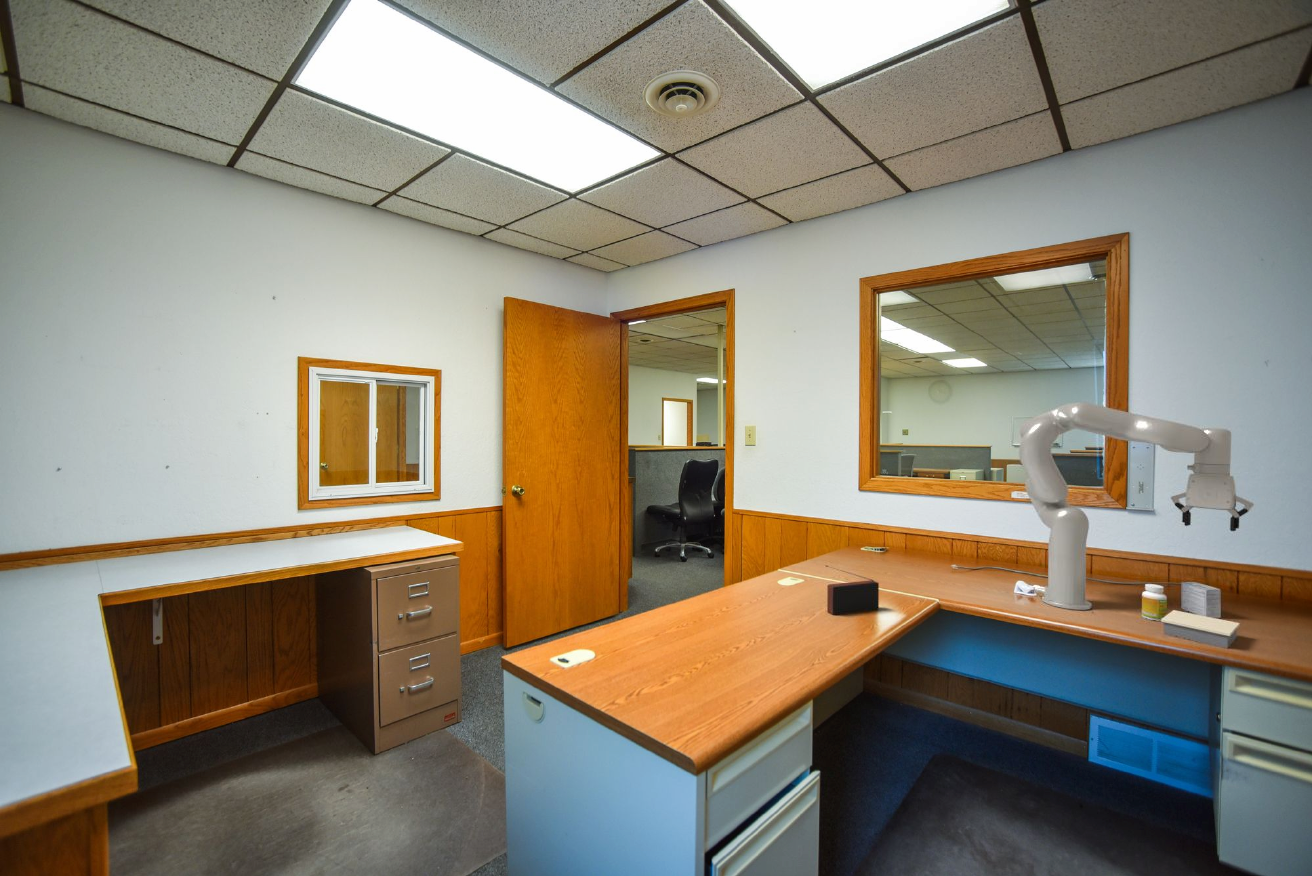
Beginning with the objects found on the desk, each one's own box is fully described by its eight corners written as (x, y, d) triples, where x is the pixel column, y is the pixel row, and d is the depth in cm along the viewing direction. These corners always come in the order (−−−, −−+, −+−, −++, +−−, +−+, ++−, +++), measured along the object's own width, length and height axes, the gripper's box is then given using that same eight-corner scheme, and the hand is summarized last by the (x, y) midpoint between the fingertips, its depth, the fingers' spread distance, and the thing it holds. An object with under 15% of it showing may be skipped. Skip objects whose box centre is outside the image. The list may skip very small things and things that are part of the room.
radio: (871, 606, 171) (872, 559, 171) (878, 610, 168) (878, 561, 168) (820, 612, 165) (821, 563, 165) (826, 616, 162) (827, 566, 162)
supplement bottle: (1161, 623, 157) (1161, 589, 156) (1138, 617, 161) (1138, 584, 161) (1169, 620, 159) (1170, 586, 159) (1146, 614, 164) (1147, 582, 164)
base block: (1160, 633, 148) (1161, 619, 148) (1173, 624, 156) (1173, 610, 156) (1229, 649, 138) (1230, 633, 138) (1239, 638, 145) (1239, 623, 145)
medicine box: (1221, 618, 160) (1221, 589, 160) (1205, 618, 161) (1206, 589, 160) (1195, 609, 168) (1195, 581, 168) (1180, 609, 168) (1181, 581, 168)
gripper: (1168, 468, 166) (1166, 524, 166) (1251, 472, 152) (1249, 534, 152) (1175, 467, 170) (1174, 522, 171) (1257, 472, 156) (1255, 531, 156)
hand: (1209, 528), depth 161 cm, fingers open, 9 cm apart
